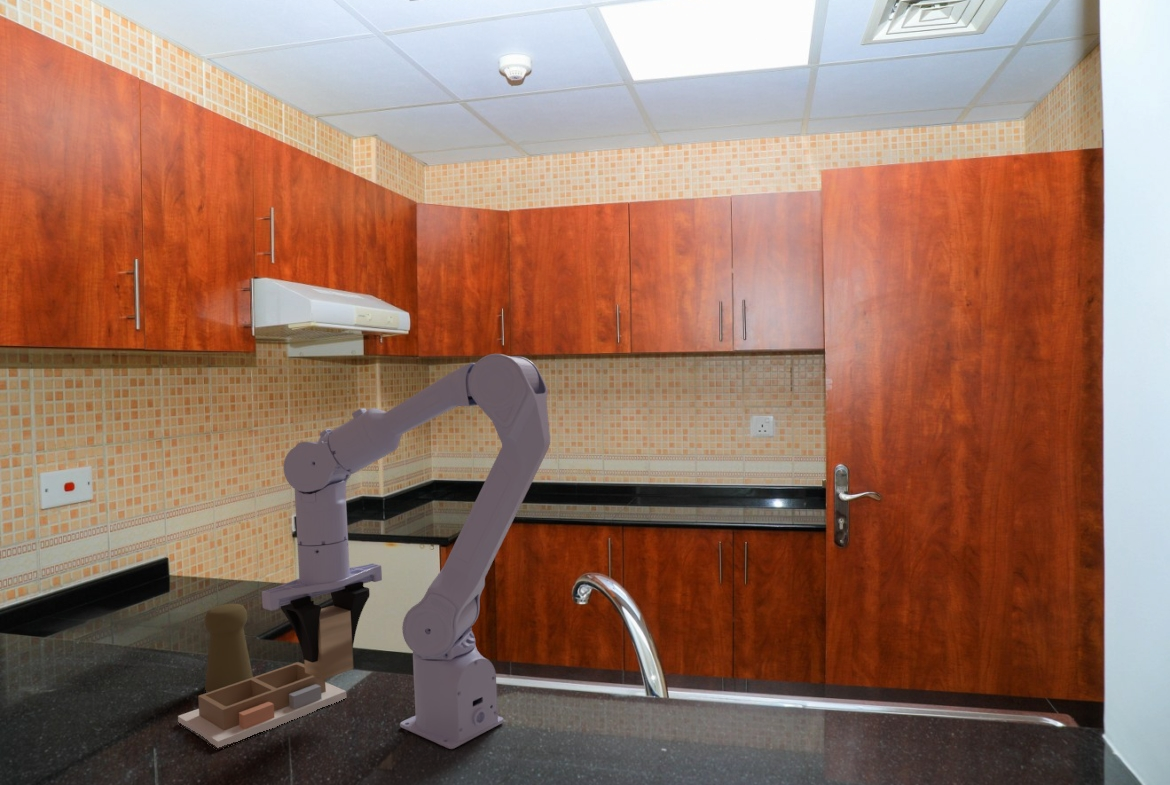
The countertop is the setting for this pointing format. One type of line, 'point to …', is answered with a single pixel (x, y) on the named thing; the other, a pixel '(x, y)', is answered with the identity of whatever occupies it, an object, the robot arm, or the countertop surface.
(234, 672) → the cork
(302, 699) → the socket board
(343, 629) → the maple peg
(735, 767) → the countertop surface
